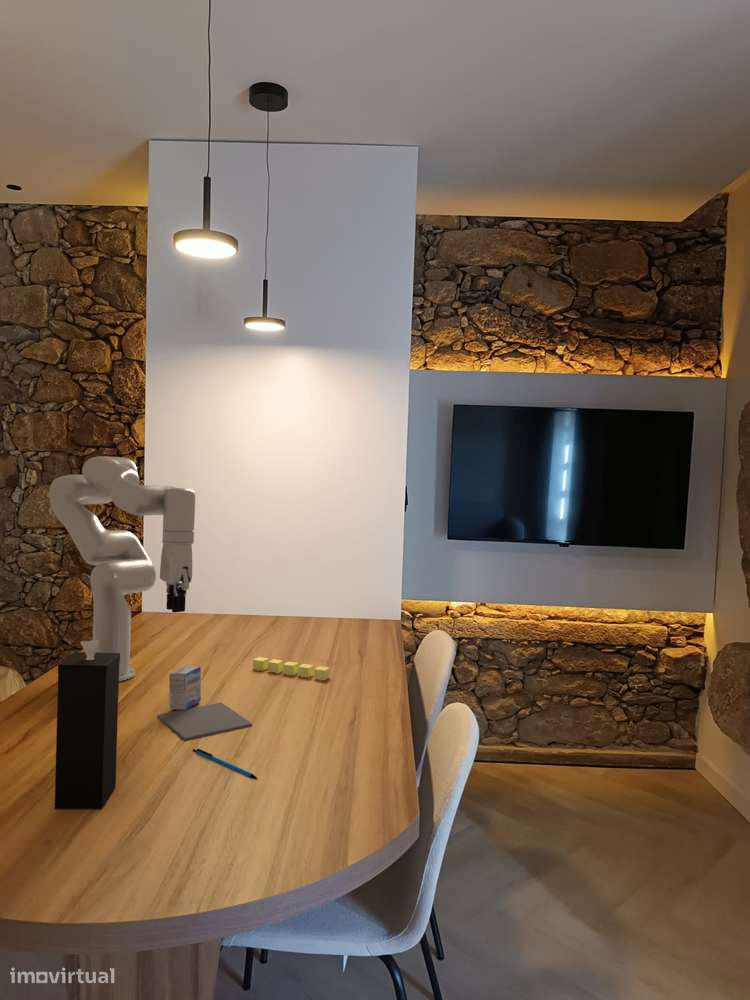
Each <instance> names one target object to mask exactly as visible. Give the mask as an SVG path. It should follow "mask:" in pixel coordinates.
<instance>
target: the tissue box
mask: <svg viewBox="0 0 750 1000" xmlns="http://www.w3.org/2000/svg"><path fill="white" fill-rule="evenodd" d="M98 644H99V640H93V639H92V640H88V641H87V640H82V641H80V645H81V646H82V648H83V650H84V651H74V652H73V653H72V654H71V655H69V656H68V657H67V658H65V659H64V660H63V661H61V662H60V663H59V664H57V701H56V702H57V704H56V705H57V706H56V709H57V710H56V711H57V712H56V742H55V745H56V746H55V750H56V751H55V774H54V775H55V776H54V778H55V781H54V783H55V784H54V810H102V809H103V808H104V807H105V805H106V804H107V802H108V801H109V799H110V797H111V796H112V794H113V792H114V791H115V789H116V787H117V786H116V783H117V782H116V781H117V780H116V779H117V752H118V751H117V750H118V749H117V748H118V721H119V719H118V718H119V716H118V715H119V713H118V712H119V691H120V690H119V686H120V683H119V682H120V681H119V662H120V653H96V650H97V647H98Z"/></svg>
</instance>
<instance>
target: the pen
mask: <svg viewBox="0 0 750 1000" xmlns="http://www.w3.org/2000/svg"><path fill="white" fill-rule="evenodd" d="M192 751H193V752H195V754H197V755H199V756H202V757H203V758H205V759H208V760H211V761H213V762H215V763H217V764H220V765H221V766H224V767H226V768H228V769H230V770H233V771H235V772H237V773H239V774H241V775H244V776H245V777H248V778H251V779H253V780H258V779H259V778H258V777H257V776H256V775H254V774H253V773H251V772H250V771H247V770H245V769H244V768H241V767H238V766H237V765H234V764H232V763H229V762H227V761H224V760H223V759H221V758H218V757H216V756H214V754H212V753H210V752H208V751H205V750H203V749H200V748H197V749H194V748H193V749H192Z"/></svg>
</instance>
